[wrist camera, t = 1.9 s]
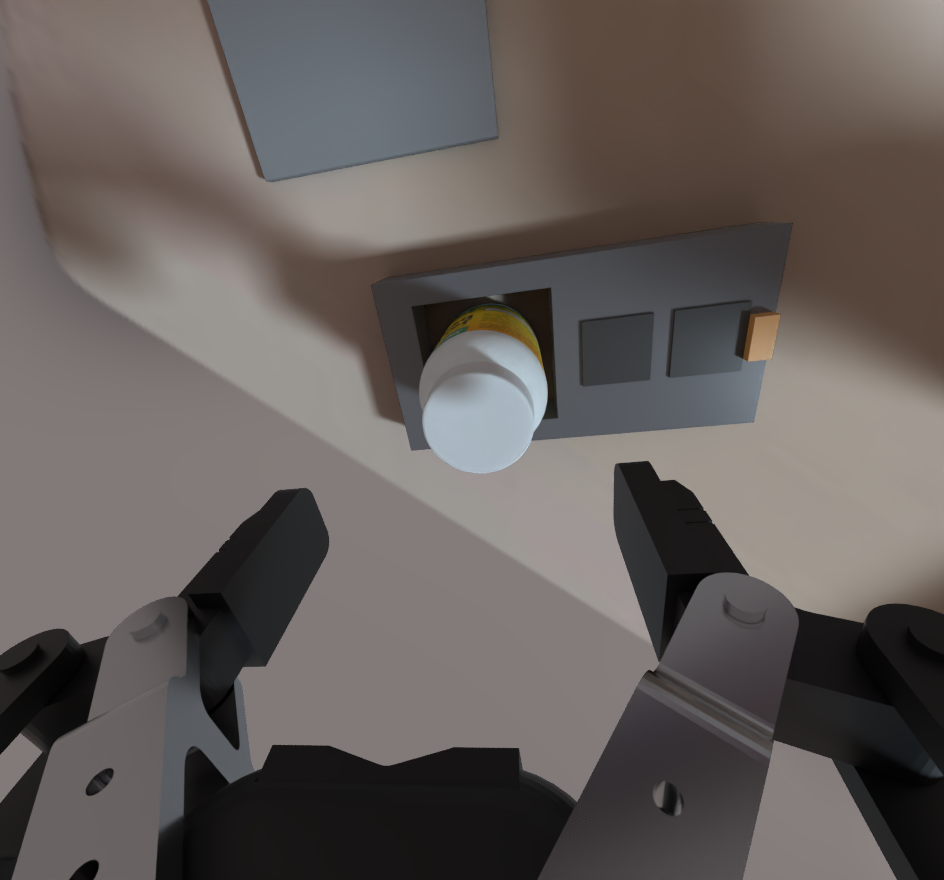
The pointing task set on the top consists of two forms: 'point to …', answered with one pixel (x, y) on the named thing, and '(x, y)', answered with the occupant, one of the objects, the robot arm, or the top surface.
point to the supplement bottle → (483, 390)
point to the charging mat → (357, 79)
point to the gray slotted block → (621, 328)
